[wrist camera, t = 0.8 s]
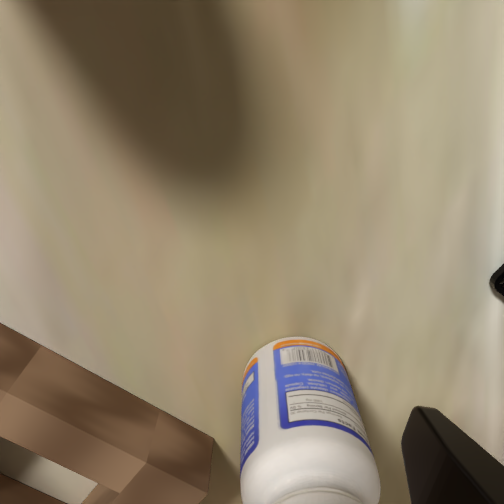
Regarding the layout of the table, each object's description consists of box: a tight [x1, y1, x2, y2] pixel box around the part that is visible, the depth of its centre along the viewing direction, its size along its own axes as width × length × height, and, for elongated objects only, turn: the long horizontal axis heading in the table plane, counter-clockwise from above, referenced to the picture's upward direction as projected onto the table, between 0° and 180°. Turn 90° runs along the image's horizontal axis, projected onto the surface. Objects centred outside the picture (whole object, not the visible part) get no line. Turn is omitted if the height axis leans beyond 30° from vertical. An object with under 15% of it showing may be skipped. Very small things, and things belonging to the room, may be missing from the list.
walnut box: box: [0, 323, 213, 504], centre depth 24 cm, size 14×12×4 cm
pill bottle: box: [240, 337, 381, 504], centre depth 19 cm, size 5×5×10 cm
